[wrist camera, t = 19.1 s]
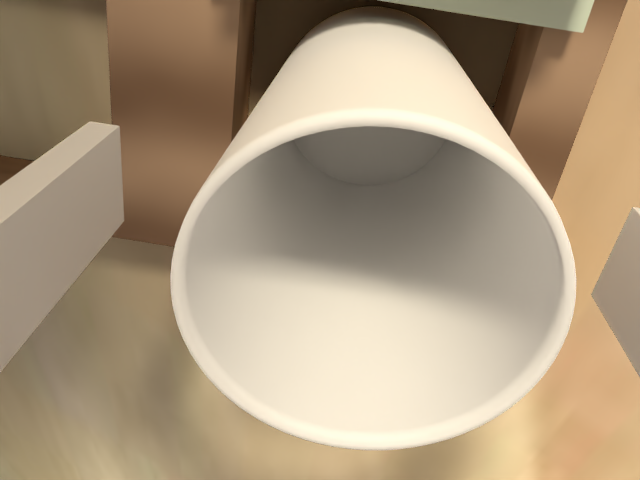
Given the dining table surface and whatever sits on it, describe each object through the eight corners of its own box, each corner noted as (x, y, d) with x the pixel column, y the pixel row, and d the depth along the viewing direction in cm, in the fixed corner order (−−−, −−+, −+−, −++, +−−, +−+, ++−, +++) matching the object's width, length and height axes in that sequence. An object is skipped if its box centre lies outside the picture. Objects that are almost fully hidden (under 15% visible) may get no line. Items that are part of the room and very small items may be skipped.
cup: (500, 101, 25) (666, 316, 11) (368, 218, 28) (366, 498, 14) (369, -40, 23) (366, 3, 9) (243, 105, 26) (92, 307, 12)
